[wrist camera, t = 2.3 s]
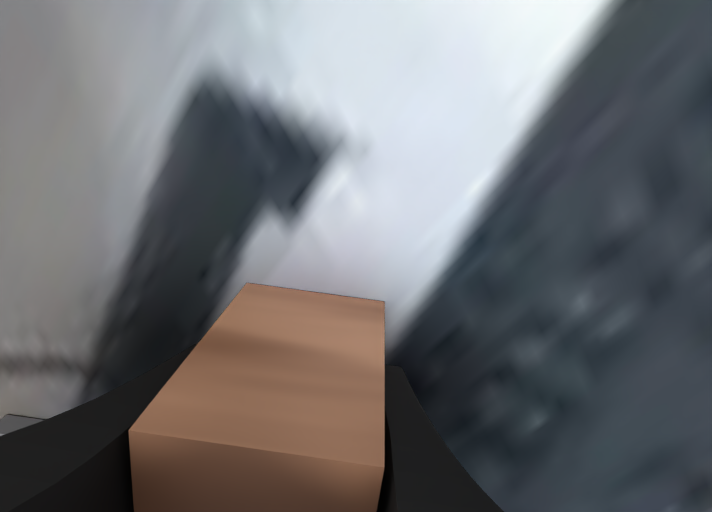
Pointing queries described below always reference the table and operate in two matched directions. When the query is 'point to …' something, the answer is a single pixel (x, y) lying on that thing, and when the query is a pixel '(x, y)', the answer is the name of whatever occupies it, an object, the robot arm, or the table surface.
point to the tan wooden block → (270, 411)
